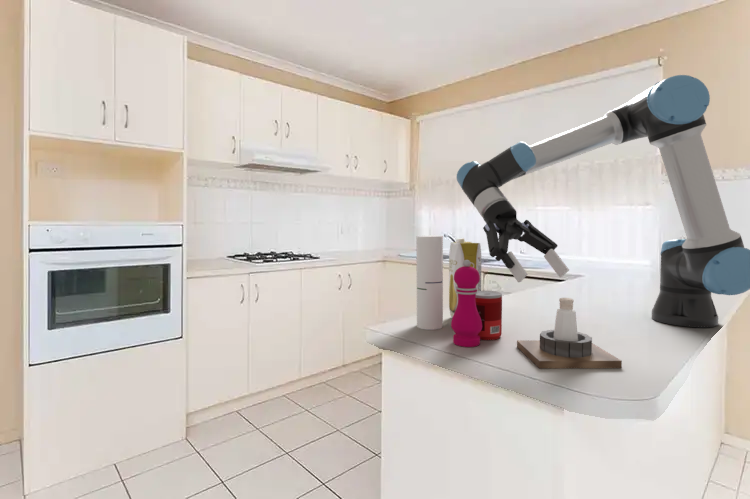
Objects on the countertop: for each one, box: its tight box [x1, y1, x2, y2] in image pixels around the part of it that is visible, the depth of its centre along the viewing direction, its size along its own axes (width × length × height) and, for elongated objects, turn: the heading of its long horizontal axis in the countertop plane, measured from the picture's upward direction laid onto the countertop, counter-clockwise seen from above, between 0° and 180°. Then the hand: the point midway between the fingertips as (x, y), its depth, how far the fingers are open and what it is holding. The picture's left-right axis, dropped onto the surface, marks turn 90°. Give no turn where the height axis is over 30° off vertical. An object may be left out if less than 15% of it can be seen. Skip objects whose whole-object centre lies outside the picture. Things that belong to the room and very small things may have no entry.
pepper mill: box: [450, 260, 482, 348], centre depth 99 cm, size 7×7×20 cm
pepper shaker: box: [553, 297, 578, 341], centre depth 89 cm, size 5×5×11 cm
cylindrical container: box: [415, 234, 444, 331], centre depth 115 cm, size 7×7×25 cm
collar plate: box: [516, 329, 623, 369], centre depth 89 cm, size 16×14×4 cm
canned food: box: [475, 290, 503, 341], centre depth 105 cm, size 8×8×11 cm
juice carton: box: [448, 237, 482, 318], centre depth 122 cm, size 9×8×24 cm
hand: (544, 276), depth 93 cm, fingers open, 13 cm apart
